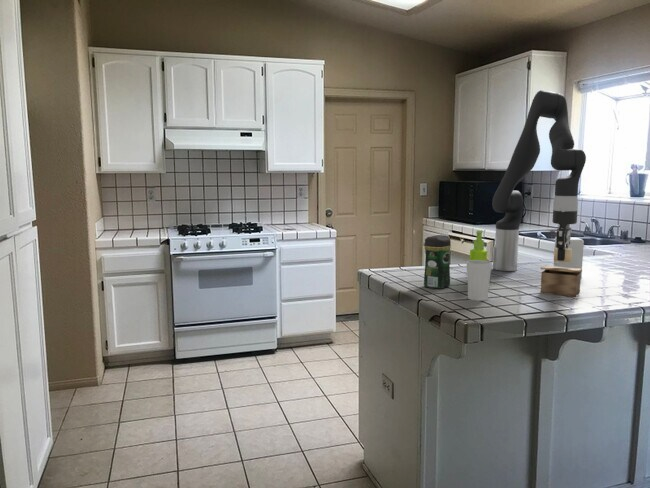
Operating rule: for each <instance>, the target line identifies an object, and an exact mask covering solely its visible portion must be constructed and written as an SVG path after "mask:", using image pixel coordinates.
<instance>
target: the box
mask: <svg viewBox="0 0 650 488" xmlns="http://www.w3.org/2000/svg"><path fill="white" fill-rule="evenodd" d="M540 277H541V278H540V293H541V294H547V295H555V296H564V297H565V296H566V297H574V298H575V297H577V296H578V295H579V293H580V291H581V278H582V277H581V272H578V273H577V272H566V271H555V270H544V269H543V270H542V271H541V275H540Z"/></svg>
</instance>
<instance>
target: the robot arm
mask: <svg viewBox="0 0 650 488" xmlns="http://www.w3.org/2000/svg"><path fill="white" fill-rule="evenodd" d="M531 101H532V102H531V104H530V107H529V111H528V114H527V117H526V120H525V124H524V126H523V129H522V131H521V134H520V136H519V139H518V140H517V144H516V146H515V148H514V150H513V153H512V156H511V158H510V161H509V164H508V165H507V168H506V170H505V173H504V176H503V177H502V179H501V181H500V182H499V185H498V187H497V189H496V191H495V192H494V195H493V197H492V202H491V203H492V205H491V206H492V209H493V210H494V212H496V213H498V214H499V213H501V214H505V215H504V217H503V218H502V219H500V220H498V221H496V223H495V237H494V238H495V240H494V241H495V243H494V246H493V254H492V270H496V271H501V272H516V271H518V261H519V259H518V256H519V236H520V235H519V234H520V225H521V222H522V218H523V217H522V215H523V208H524V199H523V195H522V193H521V192H520V191H519V190H514V189H515V188H516V186H517V185H518V184H519V182H521V180H522V179H524V178H525V177H526V176H527V175H528V174H529V173H530V172H531V171H533V168H534V167H535V166H536V163H537V160H538V158H539V156H540V153H541V145H540V141H539V137H538V133H537V131H538V130H537V126H538V122H539V119H540V117H541V118H547V119H553V120H554V121H555V122H554V123H553V125H552V126H551V127H550V129H549V131H548V137H549V141H550V145H551V157H550V166H551V167H552V168H553V169H554V171H555V170H556V171H571V172H570V173H569V175H568V176H564V177H560V178H557V179H556V180H555V184H554V185H555V186H554V199H553V204H552V223H553V224H556V225H559V226H558V228H557V229H556V237H557V238H556V248H557V249H558V255H557V260H559V261H564V260H565V249H566V248H568V247H569V245H570V239H571V238H570V237H571V235H572V227H570V225H576V224H577V223H578V212H579V211H578V209H579V207H578V206H579V199H578V198H579V197H578V196H579V195H578V193H579V183H580V179H581V175H582V172H583V170H584V167H585V164H586V161H587V155H586V153H585V151H584V150H583V149H581V148H574V147H575V140H574V138H573V135H572V131H571V130H570V123H569V114H568V113H569V112H568V111H569V110H568V102H567V99H566V96H565V95H564V94H562V93H557V92H554V91H548V90H539V91H537V92H536V93H535V95H534V96H533V99H532V100H531ZM560 243H561V244H560Z"/></svg>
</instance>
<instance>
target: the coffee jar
mask: <svg viewBox="0 0 650 488" xmlns="http://www.w3.org/2000/svg"><path fill="white" fill-rule="evenodd" d="M451 243H452V242H451V238H450V237H449V236H448V235H442V234H437V235H433V236H432V235H431V236H427V237H426V238H425V239H424V251H425V257H424V258H425V259H424V260H425V262H424V263H425V264H424V276H423V286H424V287H425V288H429V289H439V290H441V289H443V288H447V287H449V286H451V270H450V269H451V268H450V255H451V248H452V247H451V246H452V244H451Z"/></svg>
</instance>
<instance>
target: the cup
mask: <svg viewBox="0 0 650 488" xmlns="http://www.w3.org/2000/svg"><path fill="white" fill-rule="evenodd" d="M492 269H493V261H489V260H487V261H484V260H470V259H468V260H466V273H467V275H466V277H467V299H468V300H471V301H479V302H483V301H487V300H488V299H489V290H490V282H491V274H492Z"/></svg>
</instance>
